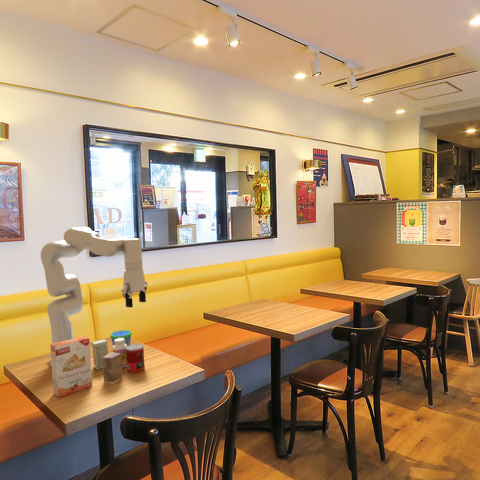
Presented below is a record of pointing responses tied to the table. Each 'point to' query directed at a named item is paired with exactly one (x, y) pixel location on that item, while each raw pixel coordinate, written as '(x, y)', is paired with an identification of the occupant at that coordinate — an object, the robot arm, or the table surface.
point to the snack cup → (121, 336)
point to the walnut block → (112, 367)
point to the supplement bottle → (120, 350)
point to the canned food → (135, 358)
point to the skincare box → (99, 352)
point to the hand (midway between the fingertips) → (136, 304)
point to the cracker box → (71, 366)
